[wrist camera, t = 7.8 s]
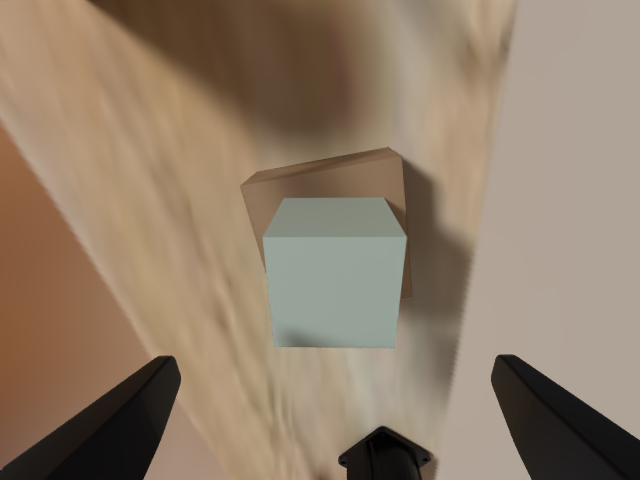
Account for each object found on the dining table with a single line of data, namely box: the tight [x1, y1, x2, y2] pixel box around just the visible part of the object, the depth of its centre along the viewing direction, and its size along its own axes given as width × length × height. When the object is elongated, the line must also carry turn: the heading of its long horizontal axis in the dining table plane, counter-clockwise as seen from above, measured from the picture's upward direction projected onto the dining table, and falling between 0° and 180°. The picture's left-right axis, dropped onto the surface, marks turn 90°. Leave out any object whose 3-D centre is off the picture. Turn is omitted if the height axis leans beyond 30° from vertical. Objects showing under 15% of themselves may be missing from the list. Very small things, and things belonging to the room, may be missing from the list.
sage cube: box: [263, 197, 407, 348], centre depth 13 cm, size 5×5×5 cm
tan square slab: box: [240, 147, 412, 298], centre depth 18 cm, size 8×8×4 cm
